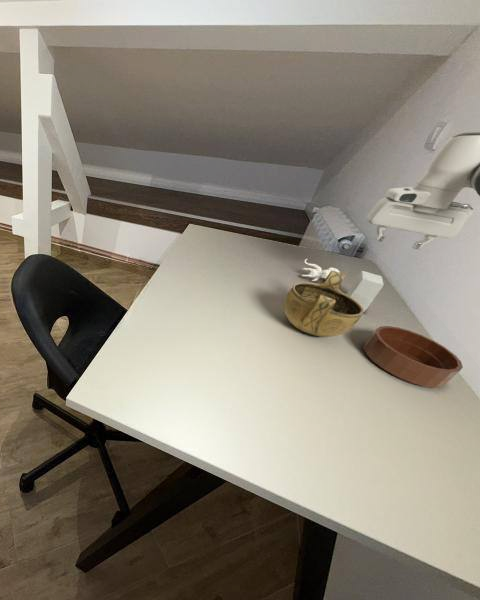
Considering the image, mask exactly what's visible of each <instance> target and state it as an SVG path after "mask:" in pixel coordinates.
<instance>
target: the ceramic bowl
mask: <svg viewBox="0 0 480 600" xmlns="http://www.w3.org/2000/svg"><path fill="white" fill-rule="evenodd" d="M339 272H340V271H339ZM339 272H336V271H331V272H330V273H329V275H328V276H327V278H326V279H324V281H323V282H322V283H314V282H306V281H305V282H303V281H299V282H296V283H294V284H293V285H292V287H291V288H290V289H289V292H288V293H287V295H286V297H285V300H284V305H283V310H284V314H285V316H286V319H287V320H288V322H290V324H291V325H292V326H294V327H295V328H296V329H297V330H300V331H301V332H304V333H305V334H308V335H311V336H315V337H324V338H326V337H327V338H328V337H329V338H330V337H336V336H337V337H338V336H340V335H343V334H345V333H347V332H348V331H350V330H351V329H352V328H353V327H354V326H355V325H356V324H357V323H358V322H359V320H360V318H361V316H362V315H363V313H364V312H363V307H362V306H361V305H360V304H359V303H358V302H357V301H356V300H354V299H353V298H352V297H350V296H348V295H346V294H347V293H344V292H342V291H341V290H340V287H341V284H342V282H343V280H344V278H345V276H346V274H344V273H341V272H340V273H339Z"/></svg>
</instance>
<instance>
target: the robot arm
mask: <svg viewBox="0 0 480 600" xmlns="http://www.w3.org/2000/svg"><path fill="white" fill-rule="evenodd" d="M464 188H470V189H473V190H474V191H475V192H476V193H477V195H478V196H479V197H480V131H474V132H472V131H471V132H462V133H458V134H456V135H454V136H452V137H450V138H449V139H448V140H447V141H445V143H444V144H443V145H442V146H441V147H440V148H439V150H438V151H437V152H436V154H435V155H434V156H433V158H432V159H431V161H430V162H429V164H428V165H427V167H426V170H425V173H424V174H423V175H422V177H420V178H419V179H418V180H417V181H416V183H414V185H413V186H407V187H405V186H404V187H396V188H395V187H393V188H389V189H388V190H387V191H386V193H385V196H386V197H383V198H381V199H380V200H378V201H377V202H376V204H375V205H374V206H373V207H372V208H371V210H370V212H369V213H368V215H367V216H366V220H367V222H368V223H369V224H370V225H374V226H376V235H375V237H374V240H373V241H375V242H380V243H382V242H383V240H384V239H385V238H386V236H385V235H384V234H383V231H385V230H386V229H387V228H389V229H396V230H401V231H406V232H410V233H411V232H412V233H416V234H422V235H424V238H422V239H421V240H419V241H417V240H415V241H414V242H413V244H412V245H411V248H412V249H415V250H419V251H420V250H421V249H422V248H423V247H424V245H426V244H429V243H430V242H432V241H434V240H435V239H436V237H438V238H443V239H448V240H449V239H453V238H454V237H456V236H457V235H458V234H459V233H460V231H461V229H462V228H463V226H464V225H465V223H466V221H467V220H468V219H470V217H471V216H472V214H473V213H474V208H473V206H472V205H471V204H470V203H461V202H457V201H454V200H455V199H456V198H457V196H458V195H459V193H460V192H461V191H462V190H463V189H464Z"/></svg>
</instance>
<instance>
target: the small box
mask: <svg viewBox="0 0 480 600" xmlns="http://www.w3.org/2000/svg"><path fill="white" fill-rule="evenodd" d="M383 287H384V280H383V276H382V275H379V274H375V273H372V272H369V271H364V270H361V271H360V272H359V274H358V275H357V277H356V278H355V280H354V281H353V283H352V284H351V286H350V288H349V289H348V290H347V292H346V293H345V294H346V295H348V296H350V297H352V298H353V299H354V300H356V301H357V302H358V303H359V304H360V305H361V306H362V307H363V313H364V312H366V311H367V309H368V307H369V306H370V305H371V304H372V302H373V301H374V299H375V298H376V297H377V295H378V294H379V293H380V291H381V289H382V288H383Z"/></svg>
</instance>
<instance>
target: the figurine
mask: <svg viewBox="0 0 480 600" xmlns="http://www.w3.org/2000/svg"><path fill="white" fill-rule="evenodd" d="M307 260H308V258H305V259H304V261H303V262H304V264H305V265H307V266H311V267H313V268H310V267H309V268H308V267H302V269H301V270H303V271H307V272H308V274H301V275H300V277H301V278H307V279H309V278H311V279H312V280H311V282H317V281H318V280H319V279H320V278H322V279H324V280H325V279H326V278H327V276H328V275H329V273H330V272H331V271H336V272H339V273H341V271H340V270H339V269H338V268H335V267H328V268H327V269H322V267H321V266H320V265H318V264H316V263H309V262H307Z"/></svg>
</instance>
